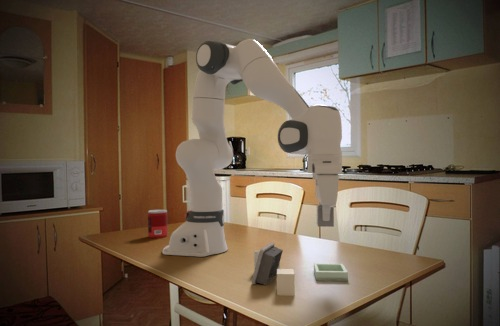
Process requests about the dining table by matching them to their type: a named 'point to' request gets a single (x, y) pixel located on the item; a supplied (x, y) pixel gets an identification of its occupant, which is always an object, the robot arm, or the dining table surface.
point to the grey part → (320, 220)
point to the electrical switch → (267, 264)
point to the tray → (330, 272)
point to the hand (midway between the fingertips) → (324, 218)
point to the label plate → (257, 258)
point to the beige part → (285, 282)
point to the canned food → (157, 223)
